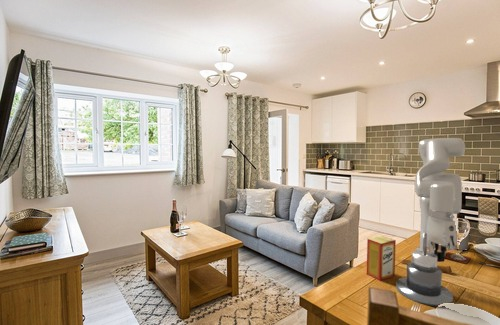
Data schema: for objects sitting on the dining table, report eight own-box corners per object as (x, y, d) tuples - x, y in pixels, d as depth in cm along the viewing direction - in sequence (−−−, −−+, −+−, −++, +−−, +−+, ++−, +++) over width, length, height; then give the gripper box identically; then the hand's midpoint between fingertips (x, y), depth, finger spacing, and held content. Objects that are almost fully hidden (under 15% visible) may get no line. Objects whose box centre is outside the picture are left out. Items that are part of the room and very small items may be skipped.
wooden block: (436, 274, 94) (437, 238, 93) (410, 268, 99) (411, 234, 98) (438, 258, 107) (439, 227, 107) (415, 253, 112) (416, 223, 112)
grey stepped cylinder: (426, 279, 110) (427, 257, 109) (466, 304, 92) (467, 278, 91) (386, 281, 108) (386, 259, 107) (418, 308, 90) (419, 280, 89)
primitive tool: (400, 264, 125) (401, 257, 125) (402, 260, 130) (402, 253, 130) (451, 276, 114) (451, 268, 113) (451, 271, 118) (451, 264, 118)
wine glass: (457, 244, 151) (458, 218, 150) (473, 250, 141) (473, 223, 141) (441, 244, 151) (442, 219, 150) (455, 251, 141) (456, 223, 140)
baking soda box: (379, 280, 109) (380, 242, 108) (366, 274, 114) (367, 238, 114) (394, 275, 113) (395, 239, 112) (380, 269, 119) (381, 234, 118)
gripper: (467, 219, 96) (465, 268, 96) (433, 210, 110) (432, 253, 111) (449, 220, 95) (447, 270, 95) (417, 210, 109) (416, 254, 110)
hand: (439, 260), depth 103 cm, fingers closed
